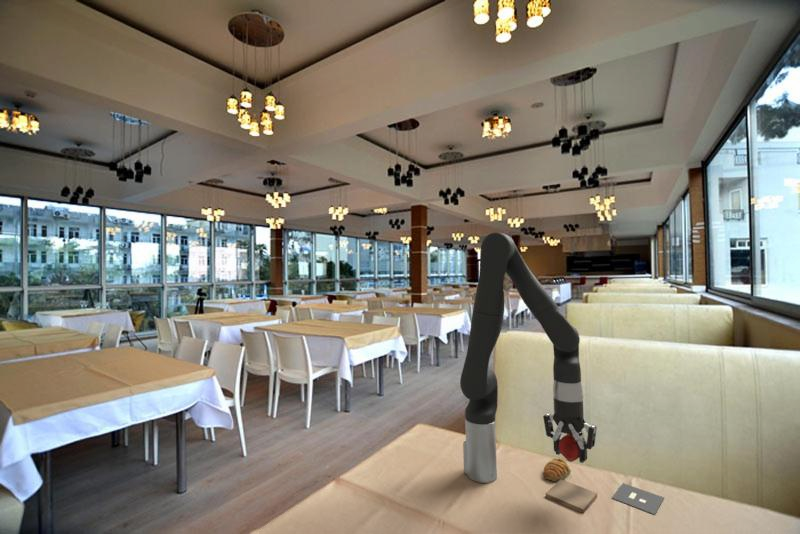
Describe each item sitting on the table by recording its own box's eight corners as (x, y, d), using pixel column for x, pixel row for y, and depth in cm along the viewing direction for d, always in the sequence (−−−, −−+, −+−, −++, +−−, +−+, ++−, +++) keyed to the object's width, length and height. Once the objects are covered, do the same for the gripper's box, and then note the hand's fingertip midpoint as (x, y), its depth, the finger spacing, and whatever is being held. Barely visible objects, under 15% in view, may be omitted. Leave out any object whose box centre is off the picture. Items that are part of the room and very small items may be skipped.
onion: (580, 458, 103) (579, 429, 103) (583, 468, 98) (582, 437, 98) (558, 455, 105) (557, 427, 105) (559, 465, 100) (558, 435, 100)
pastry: (560, 486, 107) (559, 473, 107) (537, 477, 112) (537, 465, 112) (572, 473, 113) (571, 461, 114) (550, 466, 118) (550, 454, 118)
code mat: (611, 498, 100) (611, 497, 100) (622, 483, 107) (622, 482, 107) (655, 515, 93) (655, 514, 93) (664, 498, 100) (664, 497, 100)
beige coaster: (545, 496, 101) (545, 493, 102) (560, 482, 108) (560, 479, 108) (583, 513, 94) (583, 509, 94) (597, 496, 101) (597, 493, 101)
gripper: (536, 394, 105) (539, 453, 104) (590, 406, 94) (592, 472, 94) (548, 388, 110) (550, 445, 109) (600, 398, 99) (603, 461, 99)
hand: (570, 457), depth 101 cm, fingers closed on onion, 6 cm apart
